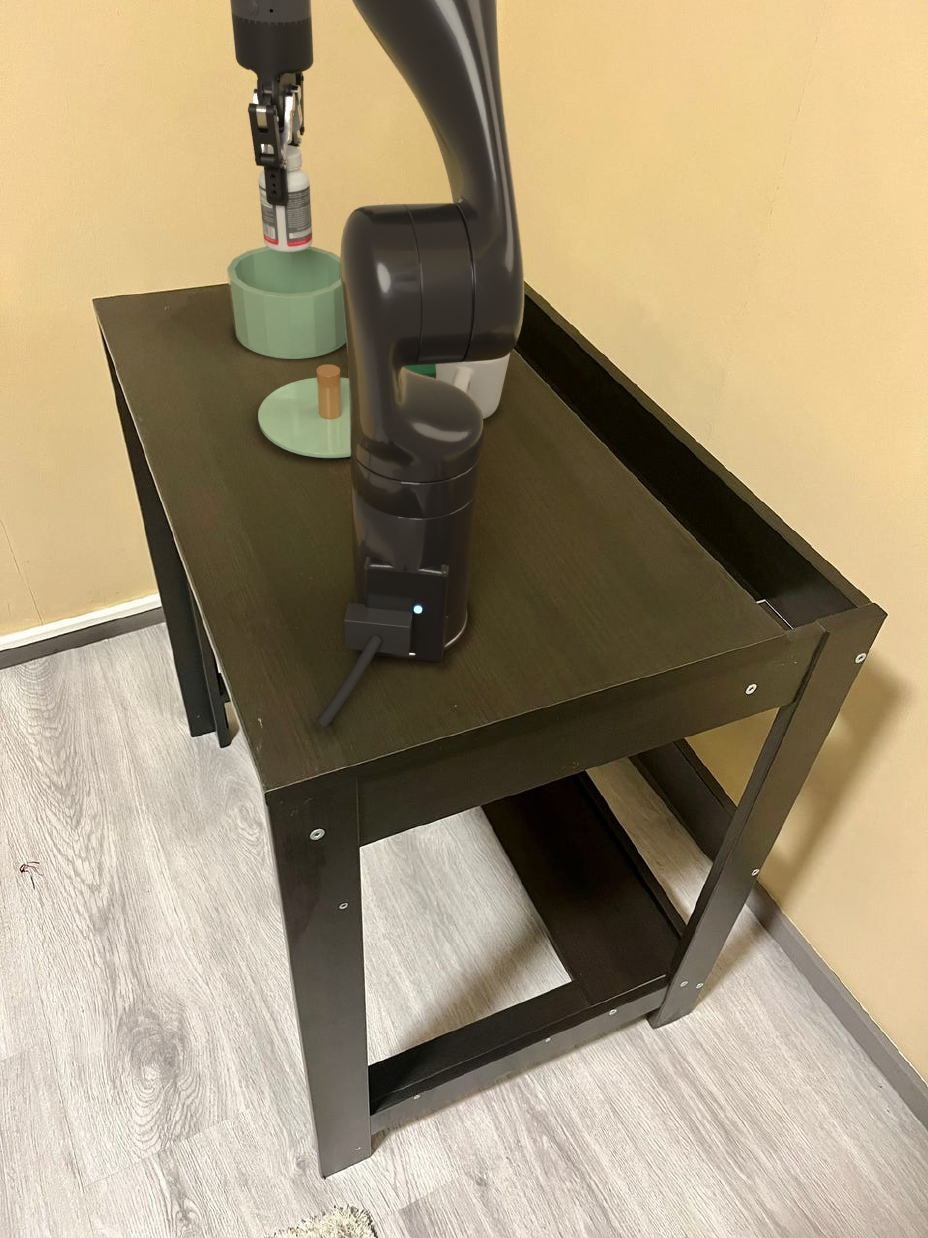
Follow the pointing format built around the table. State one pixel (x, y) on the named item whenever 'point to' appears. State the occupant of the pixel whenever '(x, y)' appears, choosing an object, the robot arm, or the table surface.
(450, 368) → the cup
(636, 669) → the table surface
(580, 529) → the table surface
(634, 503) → the table surface
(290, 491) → the table surface
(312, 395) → the lid
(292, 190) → the pill bottle
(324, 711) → the robot arm
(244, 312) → the pot
